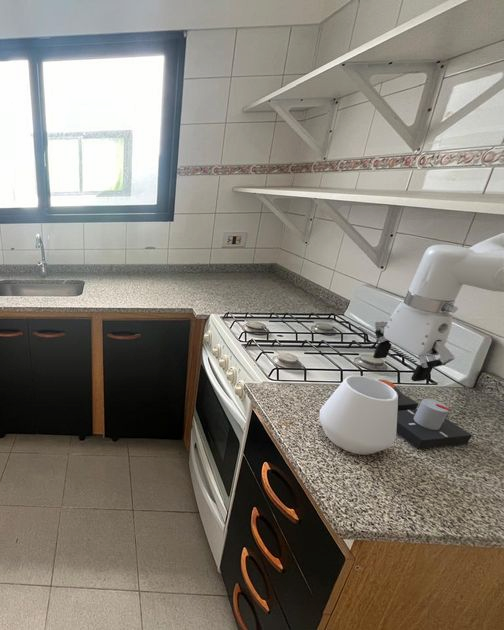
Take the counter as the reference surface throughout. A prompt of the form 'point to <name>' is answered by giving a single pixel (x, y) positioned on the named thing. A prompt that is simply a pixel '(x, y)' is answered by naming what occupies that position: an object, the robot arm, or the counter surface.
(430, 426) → the timer knob
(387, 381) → the button
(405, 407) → the block
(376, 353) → the robot arm
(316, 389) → the counter surface
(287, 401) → the counter surface
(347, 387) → the cup
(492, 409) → the counter surface
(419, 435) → the timer panel
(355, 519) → the counter surface
